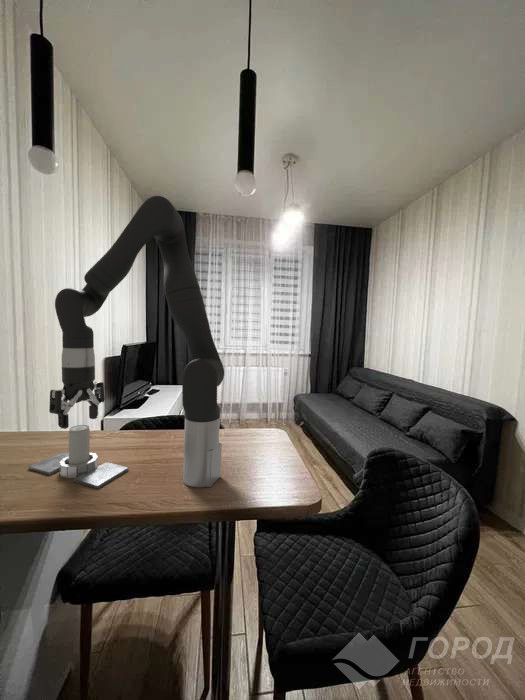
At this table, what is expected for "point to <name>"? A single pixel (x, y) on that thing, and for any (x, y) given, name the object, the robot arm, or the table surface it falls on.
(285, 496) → the table surface
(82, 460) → the beverage can
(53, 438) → the table surface
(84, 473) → the hinge model
